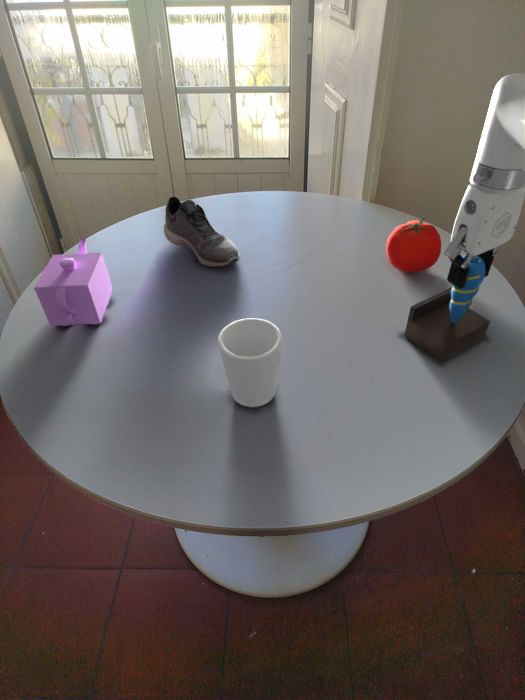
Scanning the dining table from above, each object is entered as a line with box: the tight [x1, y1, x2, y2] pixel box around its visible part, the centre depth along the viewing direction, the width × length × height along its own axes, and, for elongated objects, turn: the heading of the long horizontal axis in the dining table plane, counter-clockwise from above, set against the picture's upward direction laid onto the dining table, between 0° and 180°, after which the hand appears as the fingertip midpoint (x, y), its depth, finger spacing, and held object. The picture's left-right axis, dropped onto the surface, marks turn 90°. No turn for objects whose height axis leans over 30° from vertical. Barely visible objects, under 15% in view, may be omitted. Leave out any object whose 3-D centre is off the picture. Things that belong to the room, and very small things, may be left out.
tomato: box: [385, 217, 442, 274], centre depth 104 cm, size 12×12×11 cm
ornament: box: [450, 254, 486, 324], centre depth 81 cm, size 5×5×15 cm
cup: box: [217, 317, 283, 410], centre depth 76 cm, size 10×10×13 cm
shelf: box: [404, 285, 491, 363], centre depth 87 cm, size 9×12×7 cm
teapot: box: [33, 238, 114, 327], centre depth 96 cm, size 20×10×12 cm, turn 2°
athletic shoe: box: [163, 196, 241, 268], centre depth 113 cm, size 10×26×12 cm, turn 39°
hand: (467, 277), depth 80 cm, fingers closed on ornament, 5 cm apart
